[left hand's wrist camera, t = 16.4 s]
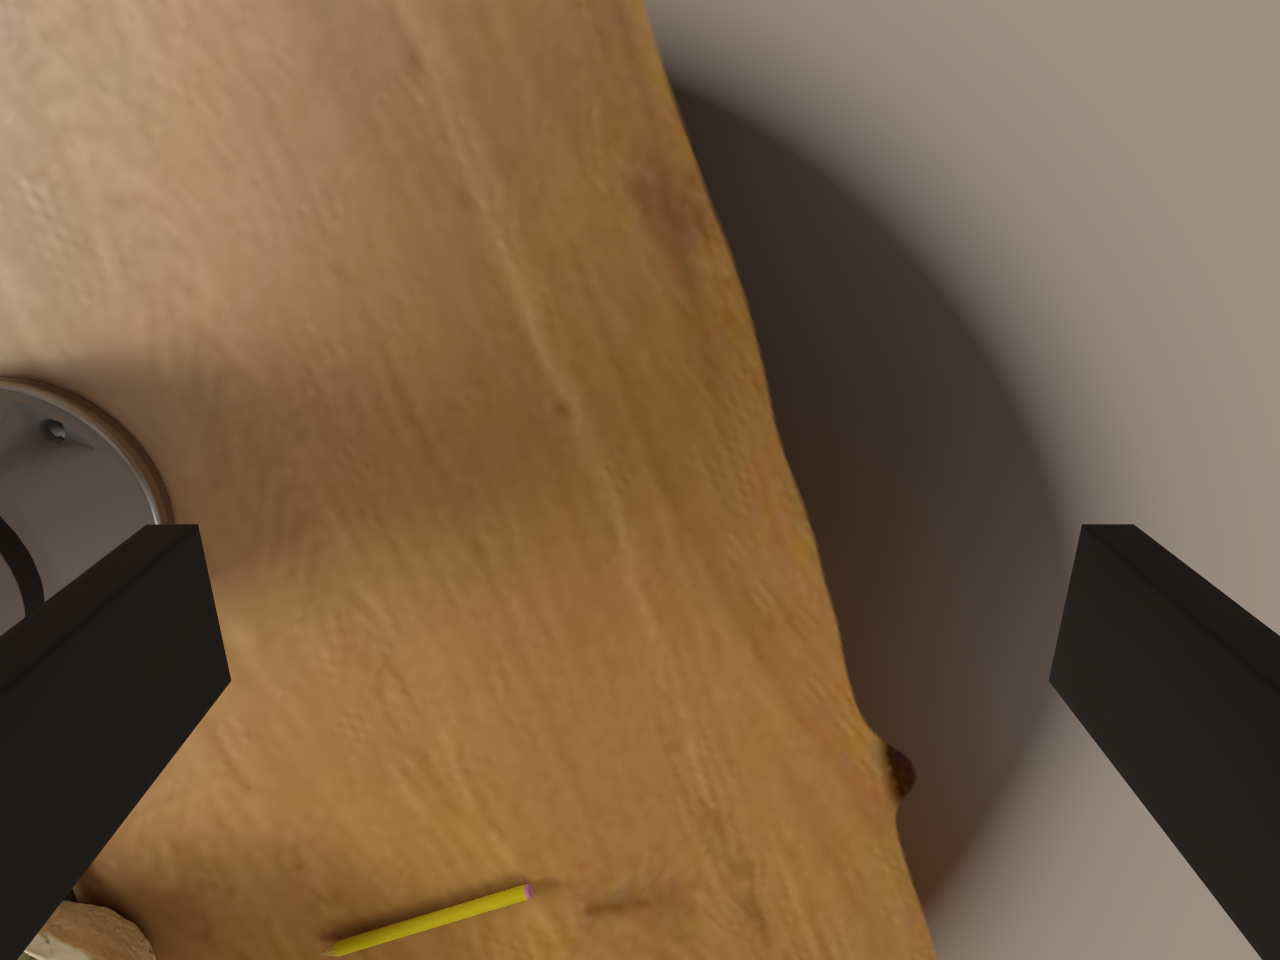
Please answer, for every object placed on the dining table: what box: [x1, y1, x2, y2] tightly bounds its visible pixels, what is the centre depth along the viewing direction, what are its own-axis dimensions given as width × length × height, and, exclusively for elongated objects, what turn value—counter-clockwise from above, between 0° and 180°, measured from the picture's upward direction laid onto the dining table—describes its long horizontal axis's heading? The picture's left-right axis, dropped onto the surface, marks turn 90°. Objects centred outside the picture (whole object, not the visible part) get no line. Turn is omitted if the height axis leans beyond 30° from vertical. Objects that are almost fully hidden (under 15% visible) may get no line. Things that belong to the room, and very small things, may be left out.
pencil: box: [319, 883, 533, 957], centre depth 59 cm, size 16×1×1 cm, turn 112°
